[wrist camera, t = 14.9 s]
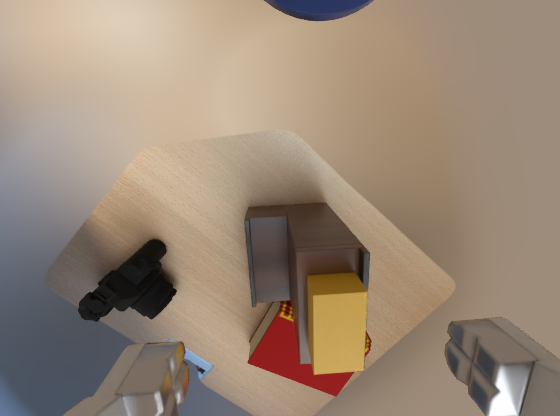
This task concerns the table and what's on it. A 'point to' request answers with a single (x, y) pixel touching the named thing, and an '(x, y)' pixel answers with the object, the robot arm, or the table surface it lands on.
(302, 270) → the top shelf
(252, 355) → the book
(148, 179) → the table surface
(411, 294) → the table surface
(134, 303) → the film camera
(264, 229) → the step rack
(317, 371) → the yellow box
